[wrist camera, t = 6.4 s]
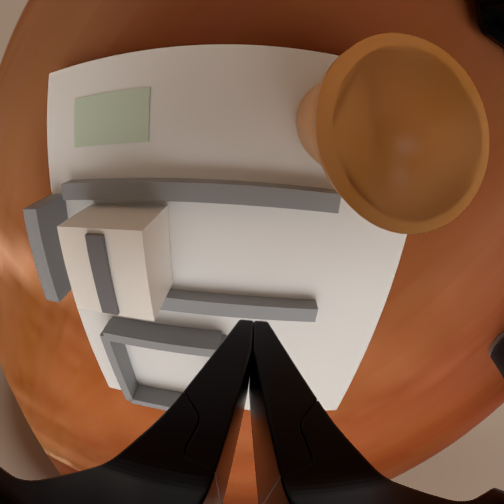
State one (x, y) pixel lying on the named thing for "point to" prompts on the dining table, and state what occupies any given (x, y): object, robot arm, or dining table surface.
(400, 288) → the dining table surface
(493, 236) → the dining table surface
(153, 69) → the board
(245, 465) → the dining table surface
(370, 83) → the cap
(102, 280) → the block
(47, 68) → the dining table surface
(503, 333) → the camera
